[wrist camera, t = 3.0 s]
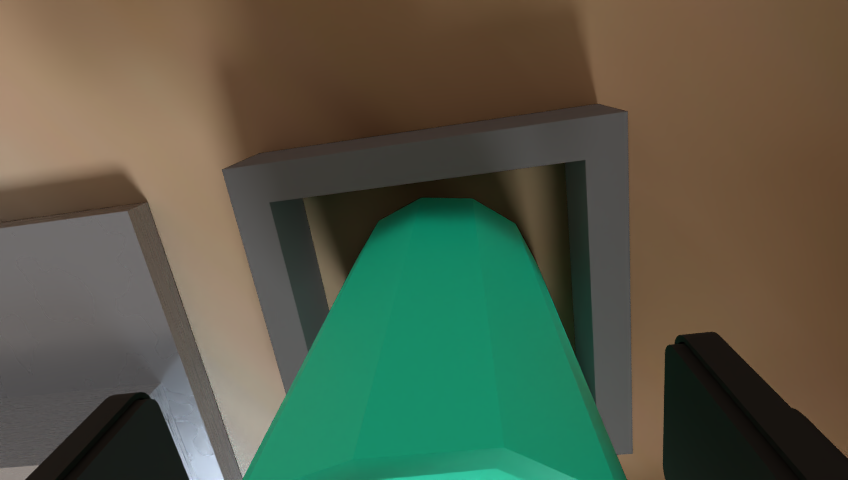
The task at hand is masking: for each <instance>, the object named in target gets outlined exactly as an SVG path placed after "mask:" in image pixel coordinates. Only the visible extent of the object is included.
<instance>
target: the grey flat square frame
mask: <svg viewBox="0 0 848 480" xmlns="http://www.w3.org/2000/svg"><path fill="white" fill-rule="evenodd" d="M558 163H565V174H566V191H567V209H568V226H569V244H570V261H571V279H572V297H573V314H574V332H575V349H576V359H577V361H578V363H579V366H580V368H581V371H582V373H583V375H584V378H585V380H586V383H587V385H588V387H589V390H590V392H591V395H592V397H593V399H594V402H595V404H596V407H597V409H598V411H599V414H600V416H601V419H602V421H603V423H604V426H605V428H606V431H607V433H608V435H609V438H610V440H611V443H612V445H613V447H614V450H615V452H616V455H620V454H633V444H632V377H631V309H630V241H629V173H628V111H624V110H620V109H616V108H612V107H608V106H604V105H601V104H594V105H587V106H580V107H573V108H566V109H560V110H553V111H546V112H539V113H532V114H525V115H519V116H512V117H505V118H498V119H491V120H484V121H478V122H471V123H464V124H457V125H450V126H443V127H436V128H430V129H423V130H416V131H409V132H402V133H395V134H389V135H382V136H375V137H368V138H361V139H354V140H348V141H341V142H334V143H327V144H320V145H313V146H306V147H300V148H293V149H286V150H279V151H272V152H265V153H259V154H257V155H254V156H252V157H250V158H247V159H245V160H243V161H241V162H238V163H236V164H234V165H231V166H229V167H227V168H225V169H222V172H223V176H224V179H225V182H226V186H227V189H228V193H229V196H230V200H231V203H232V207H233V210H234V214H235V217H236V221H237V224H238V228H239V231H240V235H241V238H242V242H243V245H244V249H245V252H246V256H247V259H248V263H249V266H250V270H251V273H252V277H253V280H254V284H255V287H256V291H257V294H258V298H259V301H260V305H261V308H262V312H263V315H264V319H265V322H266V326H267V329H268V333H269V336H270V340H271V343H272V347H273V350H274V354H275V357H276V361H277V364H278V368H279V371H280V375H281V378H282V382H283V385H284V389H285V392H286V394H287V393H288V391H289V389H290V387H291V385H292V383H293V381H294V379H295V377H296V375H297V373H298V371H299V369H300V367H301V365H302V364H303V362H304V360H305V358H306V356H307V354H308V352H309V350H310V348H311V346H312V344H313V342H314V340H315V338H316V336H317V335H318V333H319V331H320V329H321V327H322V325H323V323H324V321H325V319H326V317H327V315H328V313H329V308H328V304H327V300H326V296H325V291H324V287H323V283H322V279H321V274H320V270H319V266H318V262H317V258H316V253H315V249H314V245H313V241H312V236H311V232H310V228H309V224H308V220H307V215H306V211H305V207H304V203H303V198H306V197H313V196H321V195H328V194H336V193H343V192H350V191H358V190H365V189H373V188H380V187H388V186H395V185H402V184H410V183H417V182H425V181H432V180H440V179H447V178H454V177H462V176H469V175H477V174H484V173H492V172H499V171H506V170H514V169H521V168H529V167H536V166H543V165H551V164H558Z"/></svg>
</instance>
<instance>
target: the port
mask: <svg viewBox="0 0 848 480" xmlns="http://www.w3.org/2000/svg"><path fill="white" fill-rule="evenodd" d="M135 392H144V393H146V394H148V395H149V396H150V398H151V399H154V400H156V401H157V402H158V404H159V406H160V408H161V411H162V413H163V416H164V418H165V421H166V423H167V426H168V428H169V431H170V433H171V435H172V438H173V440H174V443H175V445H176V448H177V450H178V453H179V455H180V457H181V460H182V462H183V465H184V467H185V470H186V472H187V475H188V477H189V480H242V477H241V474H240V471H239V468H238V465H237V462H236V459H235V456H234V453H233V451H232V448H231V445H230V442H229V439H228V436H227V433H226V430H225V427H224V424H223V421H222V418H221V416H220V413H219V410H218V407H217V404H216V401H215V398H214V395H213V392H212V389H211V386H210V384H209V381H208V378H207V375H206V372H205V369H204V366H203V363H202V360H201V357H200V354H199V352H198V349H197V346H196V343H195V340H194V337H193V334H192V331H191V328H190V325H189V322H188V319H187V317H186V314H185V311H184V308H183V305H182V302H181V299H180V296H179V293H178V290H177V287H176V285H175V282H174V279H173V276H172V273H171V270H170V267H169V264H168V261H167V258H166V255H165V253H164V250H163V247H162V244H161V241H160V238H159V235H158V232H157V229H156V226H155V223H154V220H153V218H152V215H151V212H150V209H149V206H148V203H147V202H145V203H138V204H131V205H124V206H116V207H109V208H102V209H95V210H87V211H80V212H73V213H66V214H59V215H51V216H44V217H37V218H30V219H23V220H15V221H8V222H1V223H0V480H25V479H26V478H27V477H28V476H29V475H30V474H31V473H32V472H33V471H34V470H35V469H36V468H37V467H38V466H39V465H40V464H41V463H42V462H43V461H44V460H45V459H46V458H47V457H48V456H49V455H50V454H51V453H52V452H53V451H54V450H55V449H56V448H57V447H58V446H59V445H60V444H61V443H62V442H63V441H64V440H65V439H66V438H67V437H68V436H69V435H70V434H71V433H72V432H73V431H74V430H75V429H76V428H77V427H78V426H79V425H80V424H81V423H82V422H83V421H84V420H85V419H86V418H87V417H88V416H89V415H90V414H91V413H92V412H93V411H94V410H95V409H96V408H97V407H98V406H99V405H100V404H101V403H102V402H103V401H104V400H105V399H106V398H108V397H109V396H112V395H116V394H126V393H135Z"/></svg>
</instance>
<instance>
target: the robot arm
mask: <svg viewBox="0 0 848 480" xmlns="http://www.w3.org/2000/svg"><path fill="white" fill-rule="evenodd" d="M663 470H664V475H665V479H666V480H848V458H847V457H845V456H844V455H843V454H842V453H841V452H840V451H839V450H838V449H837V448H836V447H835V446H834V445H833V444H832V443H831V442H830V441H829V440H828V439H827V438H826V437H825V436H824V435H823V434H822V433H821V432H820V431H819V430H818V429H817V428H816V427H815V426H814V425H813V424H812V423H811V422H810V421H809V420H808V419H807V418H806V417H805V416H804V415H803V414H801V413H800V412H799V411H798V410H796V409H793V408H791V407H790V406H789V405H788V404H787V403H786V402H785V401H784V400H783V399H782V398H781V397H780V396H779V395H778V394H777V393H776V392H775V391H774V390H773V389H772V388H771V387H770V386H769V385H768V384H767V383H766V382H765V381H764V380H763V379H762V378H761V377H760V376H759V375H758V374H757V373H756V372H755V371H754V370H753V369H752V368H751V367H750V366H749V365H748V364H747V363H746V362H745V361H744V360H743V359H742V358H741V357H740V356H739V355H738V354H737V353H736V352H735V351H734V350H733V349H732V348H731V347H730V346H729V345H728V344H727V343H726V342H725V341H724V340H723V339H722V338H721V337H720V336H719V335H718V334H717V333H715V332H705V333H696V334H686V335H679V336H677V338H676V340H675V344H673V345H668V346H667V347H666V350H665V385H664V434H663ZM25 480H189V477H188V475H187V472H186V470H185V467H184V465H183V462H182V460H181V457H180V455H179V453H178V450H177V448H176V445H175V443H174V440H173V438H172V435H171V433H170V431H169V428H168V426H167V423H166V421H165V418H164V416H163V413H162V411H161V408H160V406H159V404H158V402H157V401H156V400H154V399H151V398H150V396H149V395H148V394H146V393H144V392H135V393H126V394H116V395H112V396H109V397H108V398H106V399H105V400H104V401H103V402H102V403H101V404H100V405H99V406H98V407H97V408H96V409H95V410H94V411H93V412H92V413H91V414H90V415H89V416H88V417H87V418H86V419H85V420H84V421H83V422H82V423H81V424H80V425H79V426H78V427H77V428H76V429H75V430H74V431H73V432H72V433H71V434H70V435H69V436H68V437H67V438H66V439H65V440H64V441H63V442H62V443H61V444H60V445H59V446H58V447H57V448H56V449H55V450H54V451H53V452H52V453H51V454H50V455H49V456H48V457H47V458H46V459H45V460H44V461H43V462H42V463H41V464H40V465H39V466H38V467H37V468H36V469H35V470H34V471H33V472H32V473H31V474H30V475H29V476H28V477H27V478H26V479H25Z"/></svg>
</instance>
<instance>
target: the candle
mask: <svg viewBox="0 0 848 480" xmlns="http://www.w3.org/2000/svg"><path fill="white" fill-rule="evenodd" d="M242 480H627V479H626V476H625V474H624V472H623V469H622V467H621V464H620V462H619V459H618V457H617V455H616V452H615V450H614V447H613V445H612V443H611V440H610V438H609V435H608V433H607V431H606V428H605V426H604V423H603V421H602V419H601V416H600V414H599V411H598V409H597V407H596V404H595V402H594V399H593V397H592V395H591V392H590V390H589V387H588V385H587V383H586V380H585V378H584V375H583V373H582V371H581V368H580V366H579V363H578V361H577V359H576V356H575V354H574V351H573V349H572V346H571V344H570V342H569V339H568V337H567V334H566V332H565V330H564V327H563V325H562V322H561V320H560V318H559V315H558V313H557V310H556V308H555V306H554V303H553V301H552V298H551V296H550V294H549V291H548V289H547V286H546V284H545V282H544V279H543V277H542V274H541V272H540V270H539V267H538V265H537V263H536V261H535V259H534V257H533V255H532V254H531V252H530V250H529V248H528V246H527V244H526V242H525V241H524V239H523V237H522V235H521V233H520V231H519V229H518V228H517V226H516V224H515V223H514V222H512V221H510V220H508V219H507V218H505V217H503V216H502V215H500V214H498V213H496V212H495V211H493V210H491V209H490V208H488V207H486V206H485V205H483V204H481V203H479V202H478V201H476V200H474V199H473V198H420V199H418V200H416V201H414V202H412V203H411V204H409V205H407V206H405V207H403V208H401V209H400V210H398V211H396V212H394V213H392V214H390V215H389V216H387V217H385V218H383V219H381V220H379V221H378V223H377V225H376V226H375V228H374V230H373V231H372V233H371V235H370V237H369V238H368V240H367V242H366V244H365V245H364V247H363V249H362V251H361V252H360V254H359V256H358V258H357V259H356V261H355V263H354V265H353V267H352V269H351V271H350V273H349V275H348V277H347V279H346V280H345V282H344V284H343V286H342V288H341V290H340V292H339V294H338V296H337V298H336V300H335V302H334V304H333V306H332V307H331V309H330V311H329V313H328V315H327V317H326V319H325V321H324V323H323V325H322V327H321V329H320V331H319V333H318V335H317V336H316V338H315V340H314V342H313V344H312V346H311V348H310V350H309V352H308V354H307V356H306V358H305V360H304V362H303V364H302V365H301V367H300V369H299V371H298V373H297V375H296V377H295V379H294V381H293V383H292V385H291V387H290V389H289V391H288V393H287V394H286V396H285V398H284V400H283V402H282V404H281V406H280V408H279V410H278V412H277V414H276V416H275V418H274V420H273V421H272V423H271V425H270V427H269V429H268V431H267V433H266V435H265V437H264V439H263V441H262V443H261V445H260V447H259V449H258V450H257V452H256V454H255V456H254V458H253V460H252V462H251V464H250V466H249V468H248V470H247V472H246V474H245V476H244V478H243V479H242Z"/></svg>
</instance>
